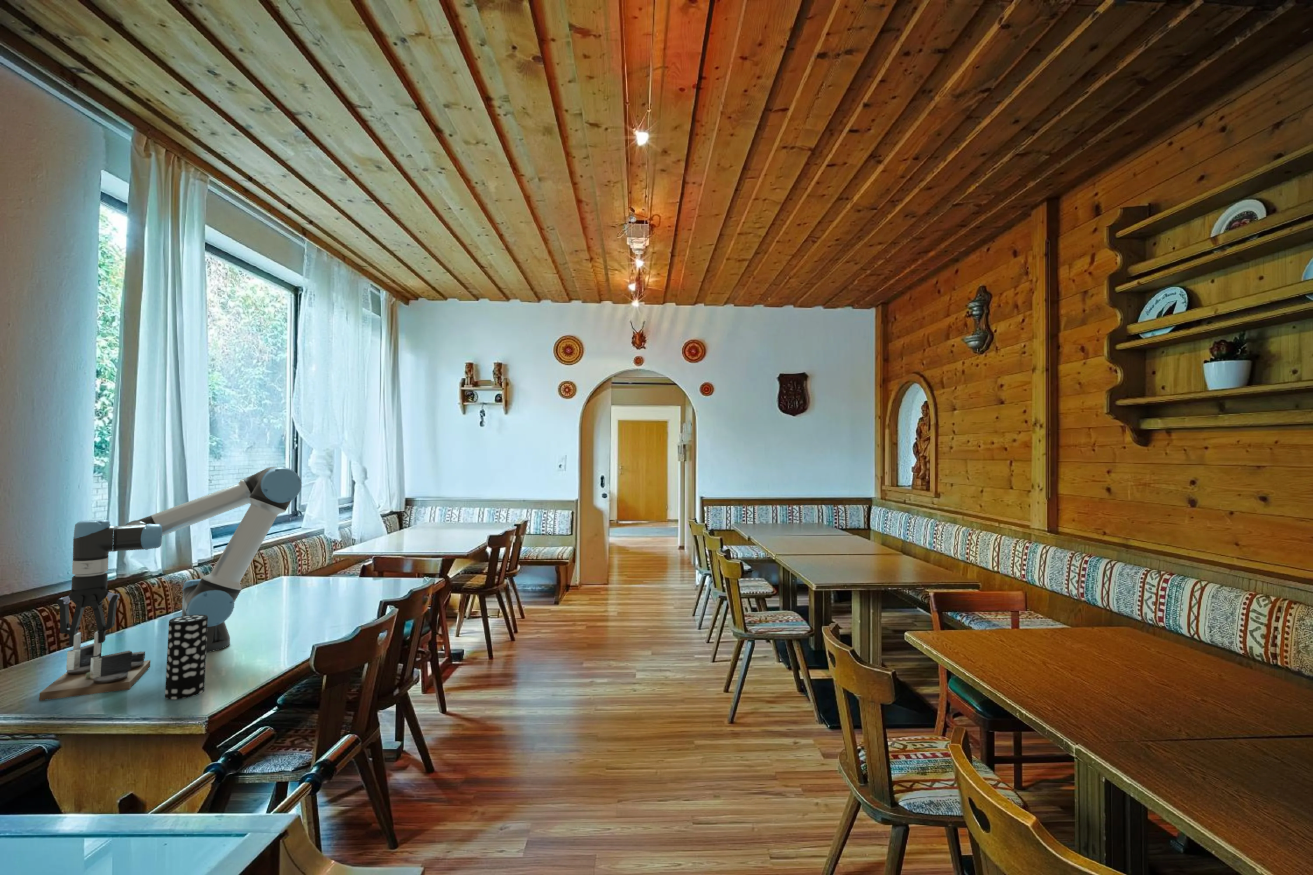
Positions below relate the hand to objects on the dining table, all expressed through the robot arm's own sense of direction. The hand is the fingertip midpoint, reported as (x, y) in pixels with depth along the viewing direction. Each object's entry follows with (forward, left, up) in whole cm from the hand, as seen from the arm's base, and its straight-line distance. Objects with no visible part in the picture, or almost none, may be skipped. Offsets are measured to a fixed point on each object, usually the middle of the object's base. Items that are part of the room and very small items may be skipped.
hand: (86, 655), depth 170 cm
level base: (-5, +6, -6) cm, 10 cm away
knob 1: (0, 0, -4) cm, 4 cm away
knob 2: (-9, +12, -4) cm, 16 cm away
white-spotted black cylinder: (-28, +26, -7) cm, 39 cm away
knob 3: (-10, +1, -4) cm, 11 cm away
